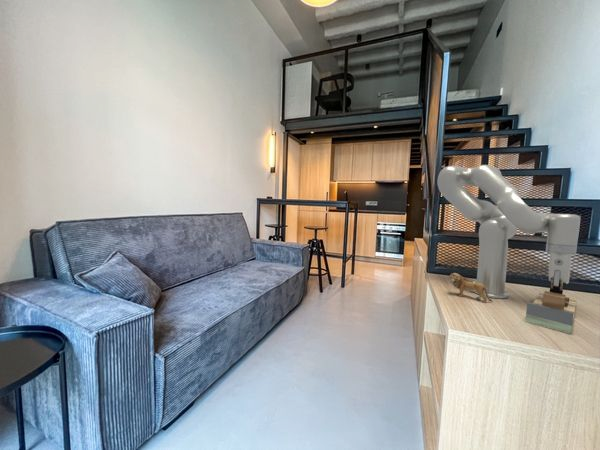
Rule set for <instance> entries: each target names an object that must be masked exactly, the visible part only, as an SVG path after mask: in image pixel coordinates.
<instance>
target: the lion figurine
mask: <svg viewBox="0 0 600 450" xmlns="http://www.w3.org/2000/svg"><path fill="white" fill-rule="evenodd" d="M448 279H449V282H450V283H451V285H453V286H454V288H455V289H457V290H459V293H458V297H460V298H462V297H463V296H464V291H468V292H473V291H477V292H478V294H477V295H478V296H476V298H475V299H477V300H481V299H483V300H481V301H482V303H484V304H485V303H487V300H488V301H489V302H493V300H492V299H491V298H490V297H488V293H487V289H486V287H485V286H484V285H483V284H481V283H473V282H472V281H469V280H468V279H467V278H466V277H464V276H462V275H461V274H459V273H456V272H453V273H450V274H449V278H448ZM483 290H485V293H486V296H487V297H486V296H485V295H484V293H483Z"/></svg>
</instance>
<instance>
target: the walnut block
mask: <svg viewBox="0 0 600 450" xmlns="http://www.w3.org/2000/svg"><path fill="white" fill-rule="evenodd" d="M543 292H544V294H543V302H542V306H547V307H551V308H555V309H560V310H564V304H565V297H566V294H564V293H563V294H558V293H553V292H550V291H548V290H545V291H543Z"/></svg>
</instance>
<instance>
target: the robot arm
mask: <svg viewBox="0 0 600 450" xmlns="http://www.w3.org/2000/svg"><path fill="white" fill-rule="evenodd" d="M436 182H437V183H436V184H437V188H438V190H439V192H440V194H441V195H442V196H443V197H444V198H445V199H446V201H448V202H449V203H450V204H451V205H452V206H453V207H454V208H455V209H456V210H457V211H458V212H459V213H460V214H462V216H463V217H464V218H465V219H466V220H468V221H469V222H478V223H479V224H480V225H479V228H478V239H479V241H478V242H479V243H478V244H479V247H478V248H479V249H478V260H477V261H478V263H477V272H476V279H474V280H473V281H471V282H473V283H481V284H483V285H484V286H485V287H486V289H487V293H488V297H489V298H490V299H491V298H493V299H500V300H501V299H502V300H503V299H508V298H509V297H510V294H509V292H507V291H505V288H506V278H507V268H508V267H507V266H508V257H509V242H508V241H509V239H512V238H513V237H514V236H515V235H516V234H517V229H518V230H519V231H521V232H522V233H526V234H537V233H538V234H539V233H547V236H546V244H545V252H546V253H547V254H549V259H548V281H549V282H550V288H549V292H553V293H558V294H563V295H564V293H563V292H564V290H563V284H564V283H565V285H567V284H569V282H570V277H571V267H572V256H577V252H578V251H577V249H578V240H579V234H580V233H579V232H580V226H581V225H580V224H581V217H580V216H579V215H578V214H572V213H553V214H552V213H551V214H550V213H543V212H536V211H535V210H533V208H531V207H530V206H529V205H528V204H527V203H526V202H525V201H524V200H523V199H522V198H521V197H520V195H519V193H518V188H517V187H515V186H514V185H513V184H512V183H511V182H509V181H508V180H507V179H506V178H505V177H504V176H503V175H502V172H501V170H500V169H499V168H498V167H495V166H492V165H490V164H480V165H478V166H476V167H463V166H457V165H449V166H445V167H444V168H442V169H441V170H440V171H439V174H438V176H437V181H436ZM466 187H478V188H479V189H480V190H481V191H482V192H483V193H484V194H485V195H486V196H488V198H489V199H490V200H491V201H492V202H494V204H493V203H492V202H490V201H487V200H483V199H479V198H477V197H476V196H475V195H473V194H472V193H471V192H470V191H469V190H468V189H467V188H466ZM472 292H473V293H475V294H477V295H479V294H478V292H477V291H472ZM483 293H484V295H485V296H486V293H485V290H483ZM486 298H487V296H486Z"/></svg>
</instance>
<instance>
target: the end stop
mask: <svg viewBox="0 0 600 450" xmlns="http://www.w3.org/2000/svg"><path fill="white" fill-rule="evenodd" d="M526 304H527V305H526V313H525V315H526V314H528V315H532V316H536V317H540V318H543V319H547V320H551V321H555V322H559V323H563V324H567V325H571V326H572V323H573V324H574V320H573V315H574V316H575V314H574V313H573V312H568V311H564V310H560V309H555V308H551V307H547V306H542V305H538V304H534V303H533V302H529V301H528V302H527V303H526ZM572 327H573V326H572Z"/></svg>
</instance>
